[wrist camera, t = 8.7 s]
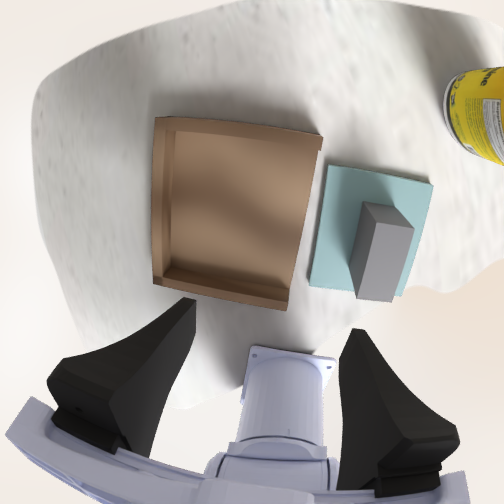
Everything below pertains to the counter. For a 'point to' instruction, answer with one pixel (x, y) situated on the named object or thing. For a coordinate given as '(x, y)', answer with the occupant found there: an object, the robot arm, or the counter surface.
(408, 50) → the counter surface
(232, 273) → the walnut box
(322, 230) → the cover plate
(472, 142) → the pill bottle
